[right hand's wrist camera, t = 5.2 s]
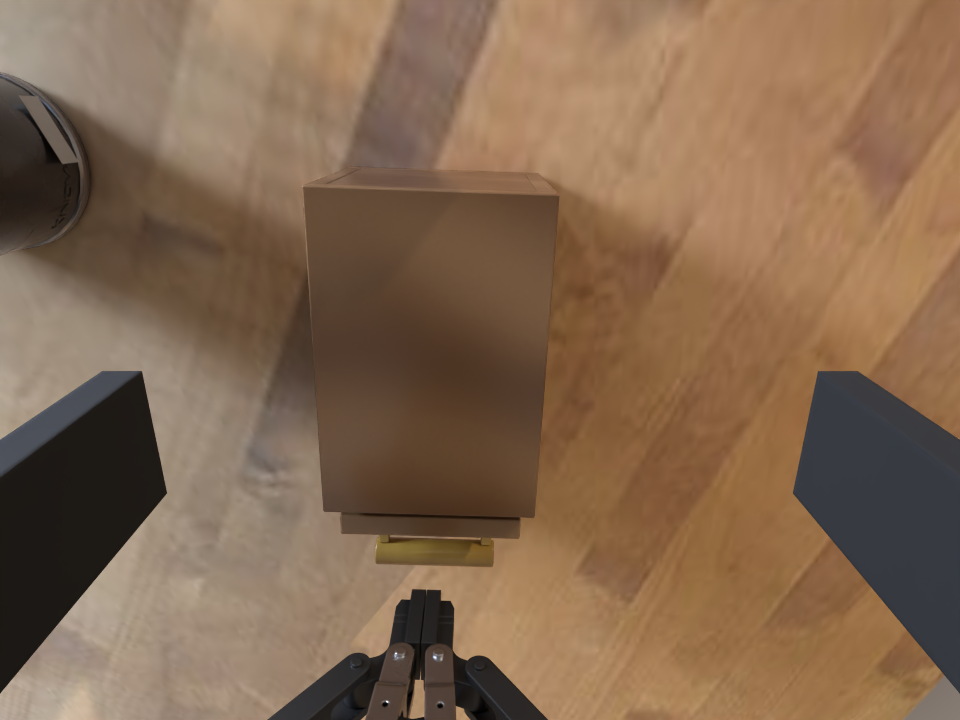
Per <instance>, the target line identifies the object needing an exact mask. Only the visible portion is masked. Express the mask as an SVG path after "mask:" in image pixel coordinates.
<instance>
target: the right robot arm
mask: <svg viewBox="0 0 960 720" xmlns="http://www.w3.org/2000/svg"><path fill="white" fill-rule="evenodd" d="M166 494H167V491H166V486H165V481H164V476H163V471H162V467H161V462H160V457H159V452H158V447H157V442H156V437H155V433H154V428H153V423H152V418H151V413H150V408H149V404H148V399H147V394H146V389H145V384H144V379H143V374H142V371H102V372H101V373H99V374H98V375H96V376H95V377H93V378H92V379H90V380H89V381H87V382H86V383H84V384H83V385H81V386H80V387H78V388H77V389H75V390H74V391H72V392H71V393H69V394H68V395H66V396H65V397H63V398H62V399H60V400H59V401H57V402H56V403H54V404H53V405H51V406H50V407H48V408H47V409H45V410H44V411H42V412H41V413H40V414H38V415H37V416H35V417H34V418H32V419H31V420H29V421H28V422H26V423H25V424H23V425H22V426H20V427H19V428H17V429H16V430H14V431H13V432H11V433H10V434H8V435H7V436H5V437H4V438H2V439H1V440H0V693H1V692H2V691H3V689H4V688H5V687H6V686H7V685H8V683H9V682H10V681H11V680H12V679H13V677H14V676H15V675H16V674H17V673H18V671H19V670H20V669H21V668H22V667H23V665H24V664H25V663H26V662H27V661H28V659H29V658H30V657H31V656H32V655H33V653H34V652H35V651H36V650H37V649H38V647H39V646H40V645H41V644H42V643H43V641H44V640H45V639H46V638H47V637H48V635H49V634H50V633H51V632H52V631H53V629H54V628H55V627H56V626H57V625H58V623H59V622H60V621H61V620H62V619H63V617H64V616H65V615H66V614H67V613H68V611H69V610H70V609H71V608H72V607H73V605H74V604H75V603H76V602H77V601H78V599H79V598H80V597H81V596H82V595H83V593H84V592H85V591H86V590H87V589H88V587H89V586H90V585H91V584H92V583H93V581H94V580H95V579H96V578H97V577H98V575H99V574H100V573H101V572H102V571H103V569H104V568H105V567H106V566H107V565H108V563H109V562H110V561H111V560H112V559H113V557H114V556H115V555H116V554H117V553H118V551H119V550H120V549H121V548H122V547H123V545H124V544H125V543H126V542H127V541H128V539H129V538H130V537H131V536H132V535H133V533H134V532H135V531H136V530H137V529H138V527H139V526H140V525H141V524H142V523H143V521H144V520H145V519H146V518H147V517H148V515H149V514H150V513H151V512H152V511H153V509H154V508H155V507H156V506H157V505H158V503H159V502H160V501H161V500H162V499H163V497H164V496H165V495H166ZM793 494H794V495H795V496H796V497H797V499H798V500H799V501H800V502H801V503H802V505H803V506H804V507H805V508H806V509H807V511H808V512H809V513H810V514H811V515H812V517H813V518H814V519H815V520H816V521H817V523H818V524H819V525H820V526H821V527H822V529H823V530H824V531H825V532H826V533H827V535H828V536H829V537H830V538H831V539H832V541H833V542H834V543H835V544H836V545H837V547H838V548H839V549H840V550H841V551H842V553H843V554H844V555H845V556H846V557H847V559H848V560H849V561H850V562H851V563H852V565H853V566H854V567H855V568H856V569H857V571H858V572H859V573H860V574H861V575H862V577H863V578H864V579H865V580H866V581H867V583H868V584H869V585H870V586H871V587H872V589H873V590H874V591H875V592H876V593H877V595H878V596H879V597H880V598H881V599H882V601H883V602H884V603H885V604H886V605H887V607H888V608H889V609H890V610H891V611H892V613H893V614H894V615H895V616H896V617H897V619H898V620H899V621H900V622H901V623H902V625H903V626H904V627H905V628H906V629H907V631H908V632H909V633H910V634H911V635H912V637H913V638H914V639H915V640H916V641H917V643H918V644H919V645H920V646H921V647H922V649H923V650H924V651H925V652H926V653H927V655H928V656H929V657H930V658H931V659H932V661H933V662H934V663H935V664H936V665H937V667H938V668H939V669H940V670H941V671H942V673H943V674H944V675H945V676H946V677H947V679H948V680H949V681H950V682H951V683H952V685H953V686H954V687H955V688H956V689H957V691H958V692H959V693H960V440H959V439H958V438H956V437H955V436H953V435H952V434H950V433H949V432H947V431H946V430H944V429H943V428H941V427H940V426H938V425H937V424H935V423H934V422H932V421H931V420H929V419H928V418H926V417H925V416H923V415H922V414H920V413H919V412H917V411H916V410H915V409H913V408H912V407H910V406H909V405H907V404H906V403H904V402H903V401H901V400H900V399H898V398H897V397H895V396H894V395H892V394H891V393H889V392H888V391H886V390H885V389H883V388H882V387H880V386H879V385H877V384H876V383H874V382H873V381H871V380H870V379H868V378H867V377H865V376H864V375H862V374H861V373H859V372H858V371H818V374H817V379H816V384H815V389H814V394H813V399H812V404H811V408H810V413H809V418H808V423H807V428H806V433H805V437H804V442H803V447H802V452H801V457H800V462H799V467H798V471H797V476H796V481H795V486H794V491H793Z"/></svg>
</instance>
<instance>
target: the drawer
mask: <svg viewBox="0 0 960 720" xmlns="http://www.w3.org/2000/svg"><path fill="white" fill-rule="evenodd" d="M520 523H521V520H520V517H492V516H458V515H424V514H390V513H355V512H341V514H340V524H341V533H342V534H373V535H379V537H378V538H377V542H376V549H375V561H376V563H377V564H399V565H435V566H470V567H493V559H494V542H493V540H491V538H512V539H518V538H519V537H520ZM390 535H408V536H443V537H477V538H481V540H470V539H435V538H400V537H390Z"/></svg>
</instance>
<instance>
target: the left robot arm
mask: <svg viewBox="0 0 960 720" xmlns="http://www.w3.org/2000/svg"><path fill="white" fill-rule="evenodd" d="M89 191H90V171H89V165H88V160H87V156H86V153H85V150H84V147H83V145H82V142H81V140H80V138H79V136H78V134H77V132H76V130H75V129H74V127H73V125H72V124H71V122H70V121H69V119H68V118H67V117H66V115H65V114H64V113H63V112H62V111H61V109H60V108H59V107H58V106H57V105H56V104H55V103H54V102H53V101H52V100H51V99H50V98H48V97H47V96H46V95H45V94H44V93H42V92H41V91H40V90H38V89H37V88H35V87H34V86H32V85H30V84H29V83H27V82H25V81H23V80H21V79H19V78H17V77H14V76H12V75H9V74H6V73H2V72H0V255H3V254H6V253H10V252H13V251H16V250H20V249H27V248H33V247H37V246H41V245H44V244H47V243H50V242H53V241H55V240H57V239H59V238H61V237H62V236H64V235H65V234H66V233H68V232H69V231H70V230H71V229H72V228H73V227H74V226H75V225H76V223H77V222H78V221H79V219H80V218H81V216H82V214H83V212H84V210H85V207H86V205H87V201H88V197H89ZM453 633H454V607H453V605H452V603H451V601H441V590H427V595H426V590H419V589H412V594H411V600H401V601H400V602H399V604H398V605H397V606H396V611H395V616H394V623H393V628H392V634H391V640H390V645H389V647H388V649H387V650H386V651H385V652H384V653H383V654H381V655H379V656H377V657H373V658H369V657H368V656H367V655H365V654H363V653H354V654H351V655H349V656H347V657H346V658H345V659H344V660H342V661H341V662H340V663H339V664H337V665H336V666H335V667H333V668H332V669H331V670H330V671H328V672H327V673H326V674H325V675H323V676H322V677H321V678H320V679H318V680H317V681H316V682H315V683H313V684H312V685H311V686H309V687H308V688H307V689H306V690H304V691H303V692H302V693H301V694H299V695H298V696H297V697H296V698H294V699H293V700H292V701H291V702H289V703H288V704H287V705H286V706H284V707H283V708H282V709H280V710H279V711H278V712H277V713H275V714H274V715H273V716H272V717H270V718H269V719H268V720H361V719H362V718H363V717H364V716H365V715H366V714H367V715H366V719H365V720H456V706H458V707H461V708H464V711H465V713H466V715H467V716H468V717H469V718H470V720H548V719H547V718H546V717H545V716H544V715H543V714H542V713H541V712H540V711H539V710H538V709H537V708H536V707H535V706H534V705H533V704H532V703H531V702H530V701H529V700H528V699H527V698H526V696H525V695H524V694H523V693H522V692H521V691H520V690H519V689H518V688H517V687H516V686H515V685H514V684H513V683H512V682H511V681H510V680H509V679H508V678H507V677H506V676H505V675H504V674H503V673H502V672H501V671H500V670H499V669H498V667H497V666H496V665H495V664H494V663H493V662H492V661H491V660H490V659H488V658H487V657H484V656H474V657H472V658H470V659H469V660H468V661H467V660H464V659H461V658H459V657H458V656H456V654H455V653H454V652H453ZM420 672H421V680H424V691H425V717H421V718H417V719H410V713H411V708H412V703H413V698H414V684H415V680H420Z"/></svg>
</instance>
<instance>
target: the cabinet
mask: <svg viewBox="0 0 960 720" xmlns="http://www.w3.org/2000/svg"><path fill="white" fill-rule="evenodd" d="M302 194H303V209H304V225H305V240H306V255H307V270H308V285H309V300H310V315H311V330H312V345H313V360H314V375H315V390H316V405H317V421H318V436H319V451H320V466H321V481H322V496H323V510H324V511H325V512H355V513H390V514H424V515H458V516H492V517H526V518H534V516H535V505H536V492H537V479H538V466H539V453H540V440H541V427H542V414H543V401H544V388H545V375H546V362H547V349H548V336H549V323H550V310H551V297H552V284H553V271H554V258H555V245H556V232H557V219H558V206H559V194H558V193H557V192H556V191H555V190H554V189H553V188H552V187H551V186H550V185H549V184H548V183H547V182H546V180H545V179H544V178H543V177H542V176H541V175H539V174H538V173H514V172H485V171H457V170H428V169H400V168H371V167H348V168H346V169H343V170H341V171H338V172H336V173H333V174H331V175H328V176H326V177H323V178H321V179H318V180H316V181H313V182H311V183H308V184H306V185H303V186H302Z"/></svg>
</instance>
